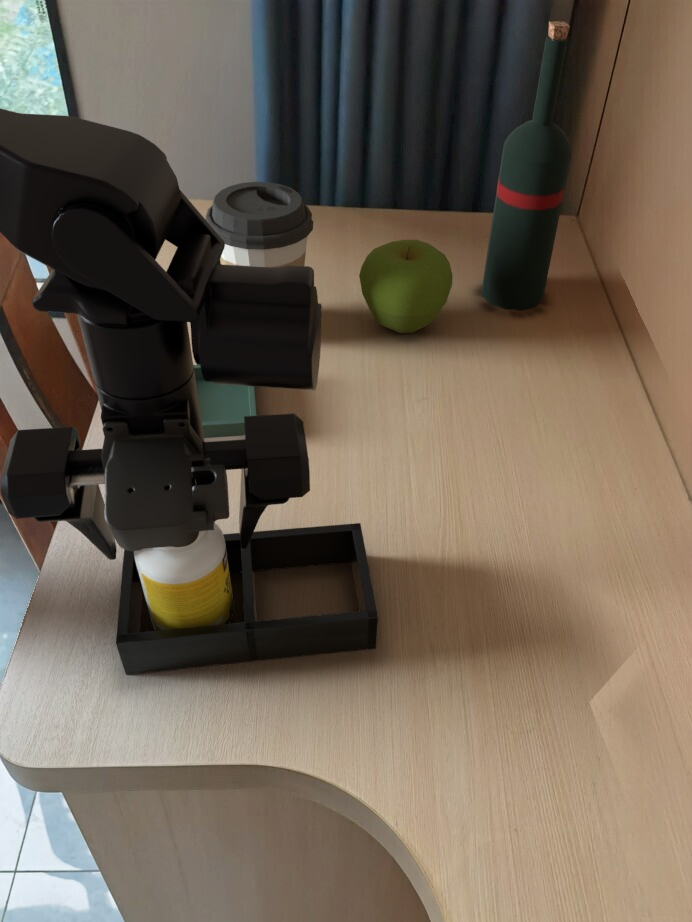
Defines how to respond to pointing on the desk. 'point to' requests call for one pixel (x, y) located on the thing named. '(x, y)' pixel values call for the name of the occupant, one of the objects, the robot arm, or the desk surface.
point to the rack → (253, 635)
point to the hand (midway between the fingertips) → (179, 549)
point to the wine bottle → (529, 193)
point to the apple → (405, 284)
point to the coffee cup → (261, 225)
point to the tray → (223, 406)
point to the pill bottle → (187, 583)
